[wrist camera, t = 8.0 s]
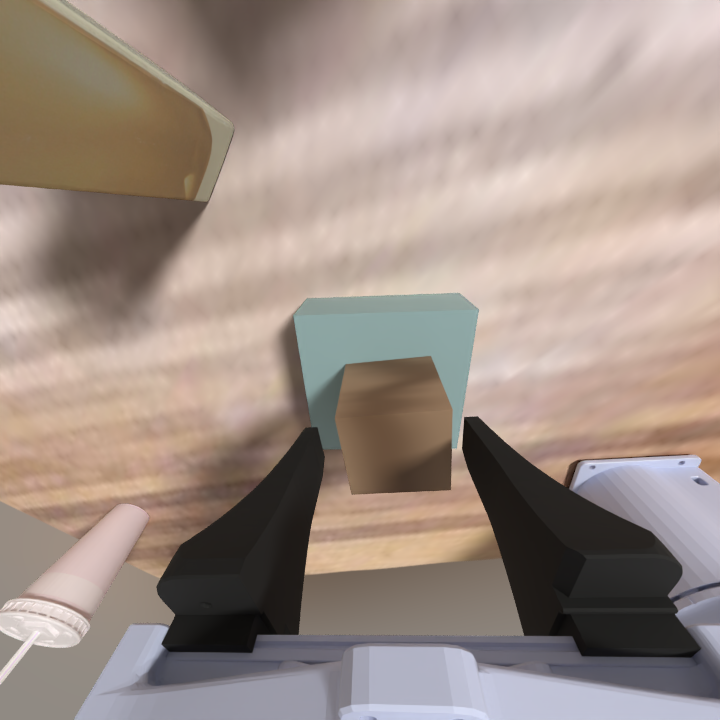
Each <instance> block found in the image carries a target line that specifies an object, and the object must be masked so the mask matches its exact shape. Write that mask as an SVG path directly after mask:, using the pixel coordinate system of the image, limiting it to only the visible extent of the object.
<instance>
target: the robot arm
mask: <svg viewBox="0 0 720 720" xmlns="http://www.w3.org/2000/svg"><path fill="white" fill-rule="evenodd" d="M462 450H463V454H464V457H465V461H466V464H467V467H468V470H469V473H470V475H471V477H472V480H473V482H474V484H475V487H476V489H477V491H478V494H479V496H480V498H481V501H482V503H483V505H484V508H485V510H486V512H487V514H488V517H489V520H490V522H491V525H492V528H493V531H494V534H495V537H496V540H497V543H498V546H499V549H500V553H501V556H502V559H503V562H504V565H505V569H506V572H507V575H508V579H509V582H510V586H511V589H512V593H513V596H514V600H515V603H516V607H517V610H518V614H519V618H520V621H521V625H522V629H523V633H524V636H422V635H421V636H420V635H419V636H418V635H416V636H415V635H414V636H413V635H399V636H398V635H298V634H299V621H300V610H301V601H302V591H303V582H304V573H305V565H306V557H307V549H308V542H309V535H310V529H311V524H312V519H313V515H314V511H315V506H316V502H317V498H318V494H319V489H320V485H321V481H322V476H323V468H324V458H325V456H324V452H323V448H322V444H321V440H320V435H319V431H318V427H310V428H305V429H304V430H303V432H302V433H301V434H300V436H299V437H298V438H297V440H296V441H295V443H294V444H293V445H292V446H291V448H290V449H289V450H288V452H287V453H286V454H285V455H284V457H283V458H282V459H281V460H280V462H279V463H278V464H277V465H276V466H275V467H274V469H273V470H272V471H271V472H270V473H269V474H268V475H267V476H266V478H265V479H264V480H263V481H262V482H261V483H260V484H259V485H258V486H257V487H256V488H255V489H254V490H253V491H252V492H251V493H250V494H248V495H247V496H246V497H245V498H244V499H243V500H241V501H240V502H239V503H238V504H237V505H236V506H235V507H233V508H232V509H231V510H230V511H228V512H227V513H226V514H225V515H223V516H222V517H221V518H219V519H218V520H217V521H215V522H214V523H213V524H211V525H210V526H208V527H207V528H206V529H204V530H203V531H201V532H200V533H198V534H197V535H195V536H194V537H192V538H191V539H189V540H188V541H186V542H185V543H183V544H181V546H180V547H179V549H178V550H177V552H176V553H175V555H174V557H173V558H172V560H171V562H170V563H169V565H168V567H167V569H166V570H165V572H164V574H163V576H162V577H161V579H160V581H159V583H158V585H157V592H158V595H159V596H160V598H161V599H162V600H163V602H165V604H166V605H167V606H168V607H169V608H170V609H171V610H172V611H173V612H174V613H175V617H174V620H173V622H172V624H171V626H168V625H166V624H161V623H133V624H131V625H130V626H129V628H128V629H127V631H126V633H125V635H124V636H123V638H122V640H121V641H120V643H119V644H118V646H117V648H116V649H115V651H114V653H113V655H112V656H111V658H110V660H109V661H108V663H107V665H106V666H105V668H104V670H103V671H102V673H101V675H100V676H99V678H98V680H97V681H96V683H95V685H94V686H93V688H92V690H91V691H90V693H89V695H88V696H87V698H86V700H85V701H84V703H83V705H82V707H81V708H80V710H79V711H78V713H77V715H76V717H75V718H74V720H720V484H719V483H718V482H717V481H715V480H714V479H713V478H711V477H710V476H709V475H708V474H706V473H705V472H704V471H702V470H701V469H700V468H698V466H699V464H700V463H701V458H699V457H698V456H696V455H680V456H661V457H642V458H623V459H604V460H585V461H581V462H579V463H578V465H577V467H576V470H575V473H574V476H573V479H572V482H571V485H570V488H569V489H568V488H566V487H565V486H563V485H562V484H560V483H558V482H557V481H555V480H554V479H552V478H551V477H549V476H548V475H546V474H545V473H544V472H542V471H541V470H539V469H538V468H536V467H535V466H534V465H532V464H531V463H530V462H528V461H527V460H526V459H525V458H523V457H522V456H521V455H520V454H518V453H517V452H516V451H515V450H514V449H513V448H511V447H510V446H509V445H508V444H507V443H506V442H504V441H503V440H502V439H501V438H500V437H499V436H498V435H497V434H496V433H495V432H494V431H492V430H491V429H490V428H489V427H488V426H487V425H486V424H485V423H484V422H483V421H482V420H481V419H480V418H479V417H478V416H477V417H464V430H463V444H462Z"/></svg>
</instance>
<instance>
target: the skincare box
mask: <svg viewBox="0 0 720 720" xmlns="http://www.w3.org/2000/svg"><path fill="white" fill-rule="evenodd" d="M233 132H234V126H233V124H232V123H231V122H230V121H229V120H228V119H227V118H226V117H224V116H223V115H222V114H221V113H219V112H218V111H217V110H216V109H214V108H213V107H212V106H210V105H209V104H208V103H207V102H205V101H204V100H203V99H202V98H200V97H199V96H198V95H196V94H195V93H194V92H192V91H191V90H190V89H188V88H187V87H186V86H185V85H183V84H182V83H181V82H179V81H178V80H176V79H175V78H174V77H172V76H171V75H170V74H168V73H167V72H166V71H164V70H163V69H162V68H160V67H159V66H158V65H156V64H155V63H153V62H152V61H151V60H149V59H148V58H147V57H145V56H144V55H142V54H141V53H140V52H138V51H137V50H135V49H134V48H133V47H131V46H130V45H128V44H127V43H125V42H124V41H122V40H121V39H120V38H118V37H117V36H115V35H114V34H113V33H111V32H110V31H109V30H107V29H106V28H104V27H103V26H102V25H100V24H99V23H97V22H96V21H95V20H93V19H92V18H90V17H89V16H88V15H86V14H85V13H83V12H82V11H81V10H79V9H78V8H76V7H75V6H73V5H72V4H71V3H69V2H68V1H66V0H0V184H2V185H14V186H25V187H38V188H47V189H63V190H73V191H87V192H98V193H110V194H121V195H132V196H144V197H156V198H168V199H180V200H191V201H202V202H207V201H208V200H209V198H210V195H211V193H212V190H213V188H214V185H215V183H216V180H217V177H218V175H219V172H220V169H221V167H222V164H223V161H224V158H225V156H226V153H227V150H228V147H229V144H230V141H231V138H232V135H233Z"/></svg>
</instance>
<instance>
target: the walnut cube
mask: <svg viewBox="0 0 720 720" xmlns="http://www.w3.org/2000/svg"><path fill="white" fill-rule="evenodd" d="M452 417H453V409H452V407H451V404H450V402H449V399H448V397H447V394H446V392H445V389H444V387H443V384H442V382H441V380H440V377H439V375H438V372H437V370H436V367H435V365H434V362H433V360H432V357H431V356H425V357H414V358H404V359H393V360H383V361H373V362H362V363H352V364H346V365H345V370H344V375H343V380H342V385H341V390H340V395H339V400H338V405H337V410H336V415H335V422H336V426H337V431H338V435H339V440H340V444H341V449H342V453H343V458H344V462H345V467H346V471H347V476H348V480H349V485H350V489H351V494H374V493H396V492H419V491H441V490H451V459H452Z"/></svg>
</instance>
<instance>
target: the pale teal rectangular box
mask: <svg viewBox="0 0 720 720" xmlns="http://www.w3.org/2000/svg"><path fill="white" fill-rule="evenodd" d="M478 312H479V309H478V308H476V307H475V306H474V305H473V304H472V303H471V302H469V301H468V300H467V299H466V298H465V297H463V296H462V295H461V294H460V293H447V294H418V295H390V296H362V297H333V298H307V299H306V300H305V301H304V303H303V304H302V305H301V306H300V308H299V309H298V310H297V311H296V313H295V314H294V315H293V317H294V323H295V329H296V336H297V342H298V348H299V354H300V360H301V366H302V372H303V378H304V384H305V390H306V397H307V403H308V409H309V415H310V421H311V427H318V431H319V435H320V440H321V444H322V448H323V449H341V444H340V440H339V435H338V431H337V426H336V422H335V415H336V410H337V405H338V400H339V395H340V390H341V385H342V380H343V375H344V370H345V365H346V364H352V363H362V362H373V361H383V360H393V359H404V358H414V357H425V356H431V357H432V360H433V362H434V365H435V367H436V370H437V372H438V375H439V377H440V380H441V382H442V384H443V387H444V389H445V392H446V394H447V397H448V399H449V402H450V404H451V407H452V409H453V417H452V448H457V443H458V437H459V431H460V424H461V418H462V412H463V406H464V399H465V393H466V387H467V381H468V374H469V368H470V362H471V356H472V349H473V343H474V337H475V331H476V324H477V318H478Z"/></svg>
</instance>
